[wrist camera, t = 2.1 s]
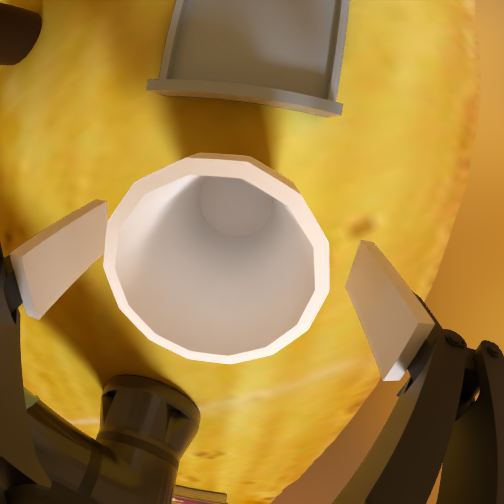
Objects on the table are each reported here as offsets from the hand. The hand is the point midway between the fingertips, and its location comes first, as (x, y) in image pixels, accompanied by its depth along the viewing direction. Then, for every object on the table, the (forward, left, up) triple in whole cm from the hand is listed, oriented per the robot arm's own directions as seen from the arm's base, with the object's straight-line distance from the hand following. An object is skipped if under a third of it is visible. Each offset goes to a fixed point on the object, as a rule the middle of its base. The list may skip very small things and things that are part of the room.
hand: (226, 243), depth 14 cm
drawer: (+18, +1, -10) cm, 20 cm away
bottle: (+17, +27, -10) cm, 34 cm away
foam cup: (0, 0, -10) cm, 10 cm away
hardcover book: (-85, +4, -11) cm, 86 cm away
